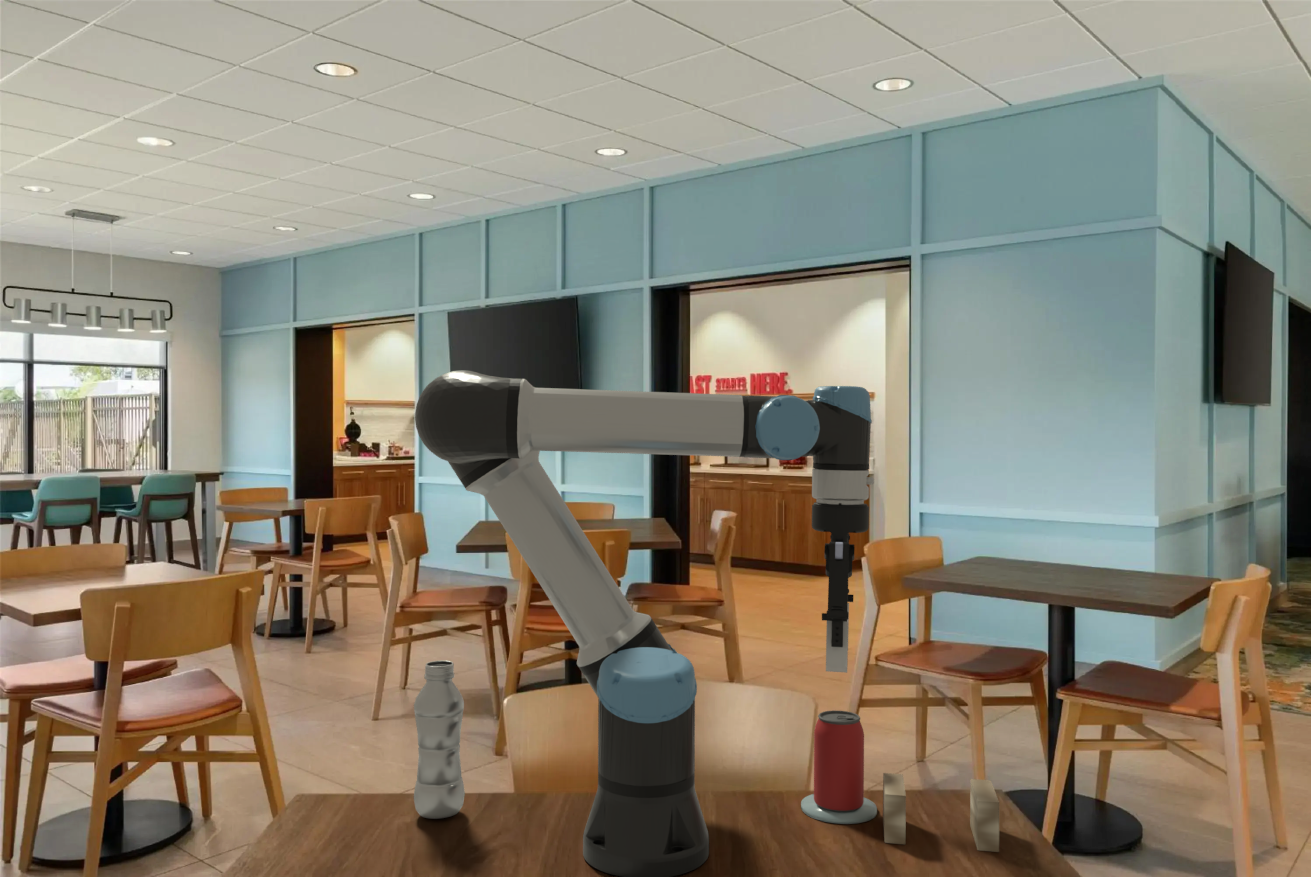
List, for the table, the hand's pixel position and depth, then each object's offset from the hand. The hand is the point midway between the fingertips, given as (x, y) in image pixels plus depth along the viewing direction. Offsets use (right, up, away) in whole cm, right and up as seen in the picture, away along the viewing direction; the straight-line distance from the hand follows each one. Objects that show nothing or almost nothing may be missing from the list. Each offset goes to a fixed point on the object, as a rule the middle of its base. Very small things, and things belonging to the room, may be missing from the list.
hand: (837, 660), depth 136 cm
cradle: (+11, -20, -8) cm, 25 cm away
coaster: (0, -20, 0) cm, 20 cm away
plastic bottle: (-53, -20, -3) cm, 57 cm away
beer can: (0, -20, 0) cm, 20 cm away
